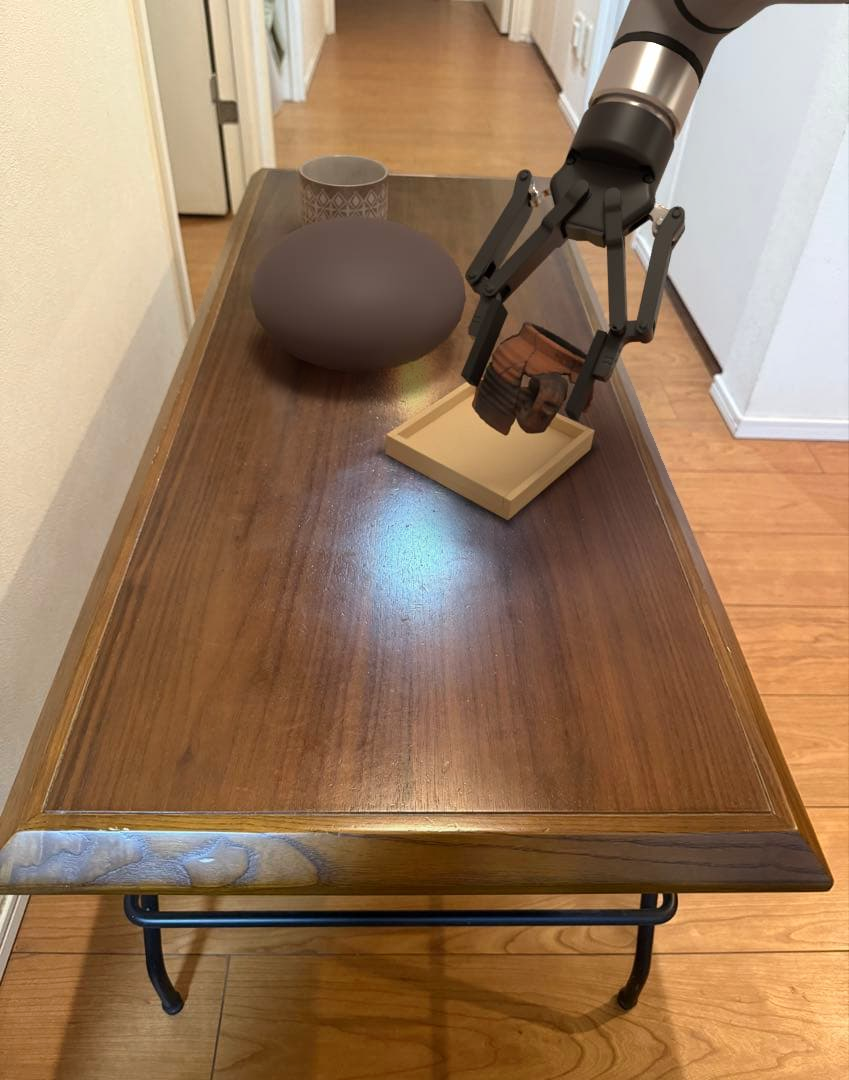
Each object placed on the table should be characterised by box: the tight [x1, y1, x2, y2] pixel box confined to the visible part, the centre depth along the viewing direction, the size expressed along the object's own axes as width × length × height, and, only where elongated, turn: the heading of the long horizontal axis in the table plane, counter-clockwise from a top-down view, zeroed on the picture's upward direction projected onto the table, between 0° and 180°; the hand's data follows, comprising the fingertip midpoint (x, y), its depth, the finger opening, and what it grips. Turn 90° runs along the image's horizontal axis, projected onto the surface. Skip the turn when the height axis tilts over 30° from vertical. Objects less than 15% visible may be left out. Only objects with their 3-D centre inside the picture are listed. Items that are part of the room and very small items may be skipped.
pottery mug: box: [472, 321, 595, 436], centre depth 68 cm, size 12×10×8 cm
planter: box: [298, 153, 390, 227], centre depth 122 cm, size 13×13×10 cm
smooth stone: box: [249, 216, 467, 373], centre depth 97 cm, size 25×25×15 cm
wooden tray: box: [385, 378, 595, 521], centre depth 87 cm, size 16×16×2 cm
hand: (519, 397), depth 65 cm, fingers closed on pottery mug, 8 cm apart
